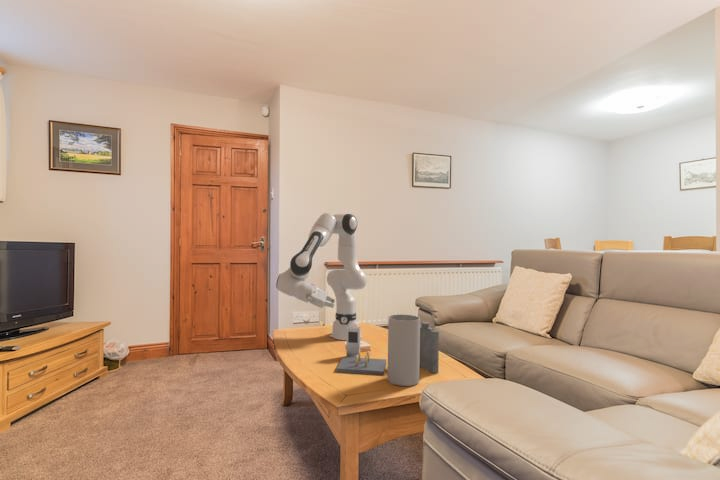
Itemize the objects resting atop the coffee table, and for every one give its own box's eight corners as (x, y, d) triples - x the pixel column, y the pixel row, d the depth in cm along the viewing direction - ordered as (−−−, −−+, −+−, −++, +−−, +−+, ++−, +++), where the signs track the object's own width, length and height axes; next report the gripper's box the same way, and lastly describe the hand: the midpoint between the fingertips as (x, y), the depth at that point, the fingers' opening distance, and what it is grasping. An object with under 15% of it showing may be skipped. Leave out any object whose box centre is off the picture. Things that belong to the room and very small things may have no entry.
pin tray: (343, 360, 168) (343, 347, 168) (386, 362, 165) (386, 349, 165) (336, 372, 152) (336, 357, 152) (383, 375, 149) (384, 360, 149)
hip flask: (408, 363, 164) (409, 319, 164) (414, 362, 166) (415, 318, 167) (434, 374, 151) (435, 326, 151) (441, 372, 153) (442, 325, 154)
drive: (347, 355, 174) (348, 326, 174) (359, 356, 173) (360, 327, 174) (346, 358, 170) (346, 328, 171) (358, 358, 170) (359, 329, 170)
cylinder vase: (420, 376, 148) (421, 315, 148) (418, 388, 136) (419, 321, 136) (389, 373, 151) (390, 313, 151) (385, 385, 138) (386, 319, 139)
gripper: (307, 291, 165) (335, 302, 166) (312, 283, 185) (337, 293, 186) (302, 304, 165) (330, 315, 166) (307, 294, 186) (332, 304, 186)
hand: (334, 303), depth 176 cm, fingers open, 8 cm apart
